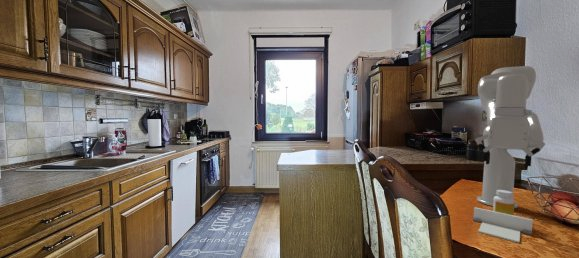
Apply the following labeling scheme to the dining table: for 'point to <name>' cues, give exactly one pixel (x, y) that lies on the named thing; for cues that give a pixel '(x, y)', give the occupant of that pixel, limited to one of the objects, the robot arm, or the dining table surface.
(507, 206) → the supplement bottle
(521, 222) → the low wall
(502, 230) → the mat
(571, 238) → the dining table surface
